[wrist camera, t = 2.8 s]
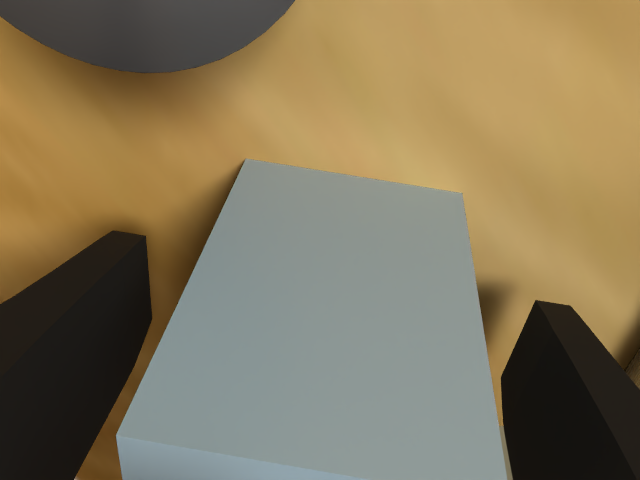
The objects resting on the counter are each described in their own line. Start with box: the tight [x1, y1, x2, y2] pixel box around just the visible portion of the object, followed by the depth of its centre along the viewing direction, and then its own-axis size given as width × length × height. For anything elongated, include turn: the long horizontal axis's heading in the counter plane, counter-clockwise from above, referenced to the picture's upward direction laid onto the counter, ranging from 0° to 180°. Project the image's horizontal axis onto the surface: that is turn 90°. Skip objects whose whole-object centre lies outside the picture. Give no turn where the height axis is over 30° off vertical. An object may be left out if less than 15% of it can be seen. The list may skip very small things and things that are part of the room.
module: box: [116, 159, 507, 480], centre depth 9 cm, size 4×4×6 cm
